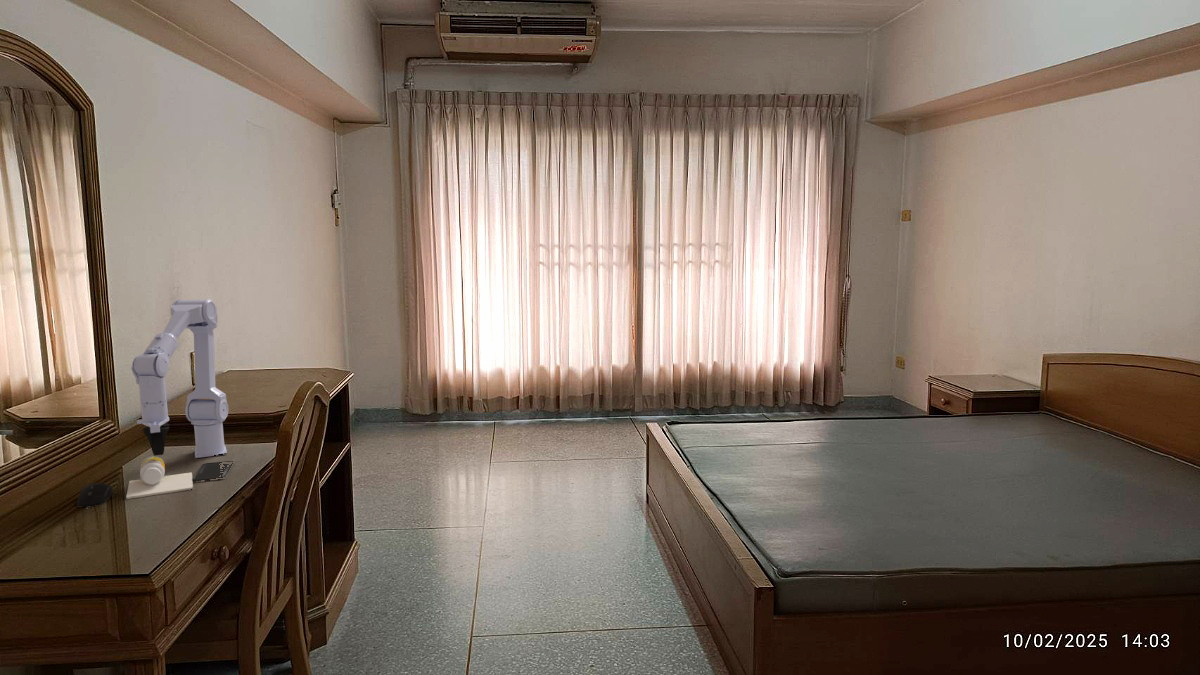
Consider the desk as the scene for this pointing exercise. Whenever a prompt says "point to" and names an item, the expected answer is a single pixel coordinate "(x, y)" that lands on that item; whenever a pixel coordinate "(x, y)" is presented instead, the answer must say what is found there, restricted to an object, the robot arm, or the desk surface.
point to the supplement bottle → (152, 470)
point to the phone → (211, 471)
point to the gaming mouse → (94, 494)
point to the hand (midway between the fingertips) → (158, 454)
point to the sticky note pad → (160, 486)
